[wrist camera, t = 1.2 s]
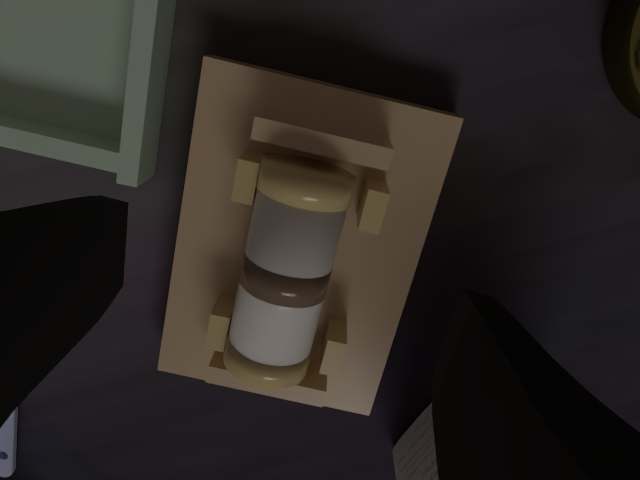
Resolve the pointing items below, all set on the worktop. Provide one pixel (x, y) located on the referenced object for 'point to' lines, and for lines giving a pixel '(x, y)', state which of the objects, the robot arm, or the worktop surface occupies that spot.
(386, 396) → the worktop surface
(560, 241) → the worktop surface
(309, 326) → the fuse
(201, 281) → the fuse holder
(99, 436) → the worktop surface
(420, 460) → the skincare box
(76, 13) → the parts tray
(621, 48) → the gold tiered figurine
